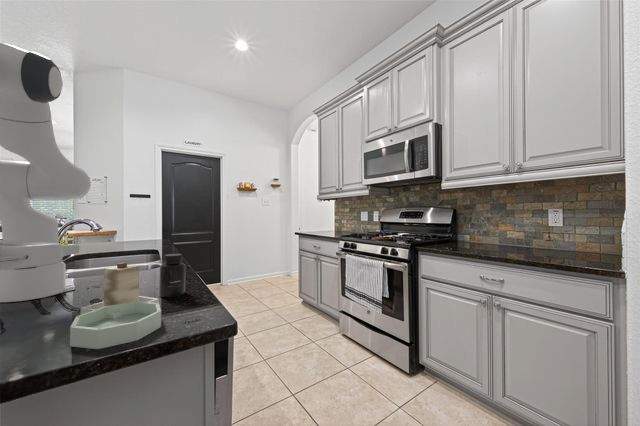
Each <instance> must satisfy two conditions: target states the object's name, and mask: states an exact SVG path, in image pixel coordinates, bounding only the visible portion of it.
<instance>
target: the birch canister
mask: <svg viewBox="0 0 640 426" xmlns="http://www.w3.org/2000/svg"><path fill="white" fill-rule="evenodd" d="M103 273H104V274H103V275H104V276H103V301H104V306H110V305H117V304H123V303H129V302H136V301H138V302H139V296H140V266H139V265H132V264H128V262H117V263H116V266H112V267H104V269H103Z"/></svg>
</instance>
